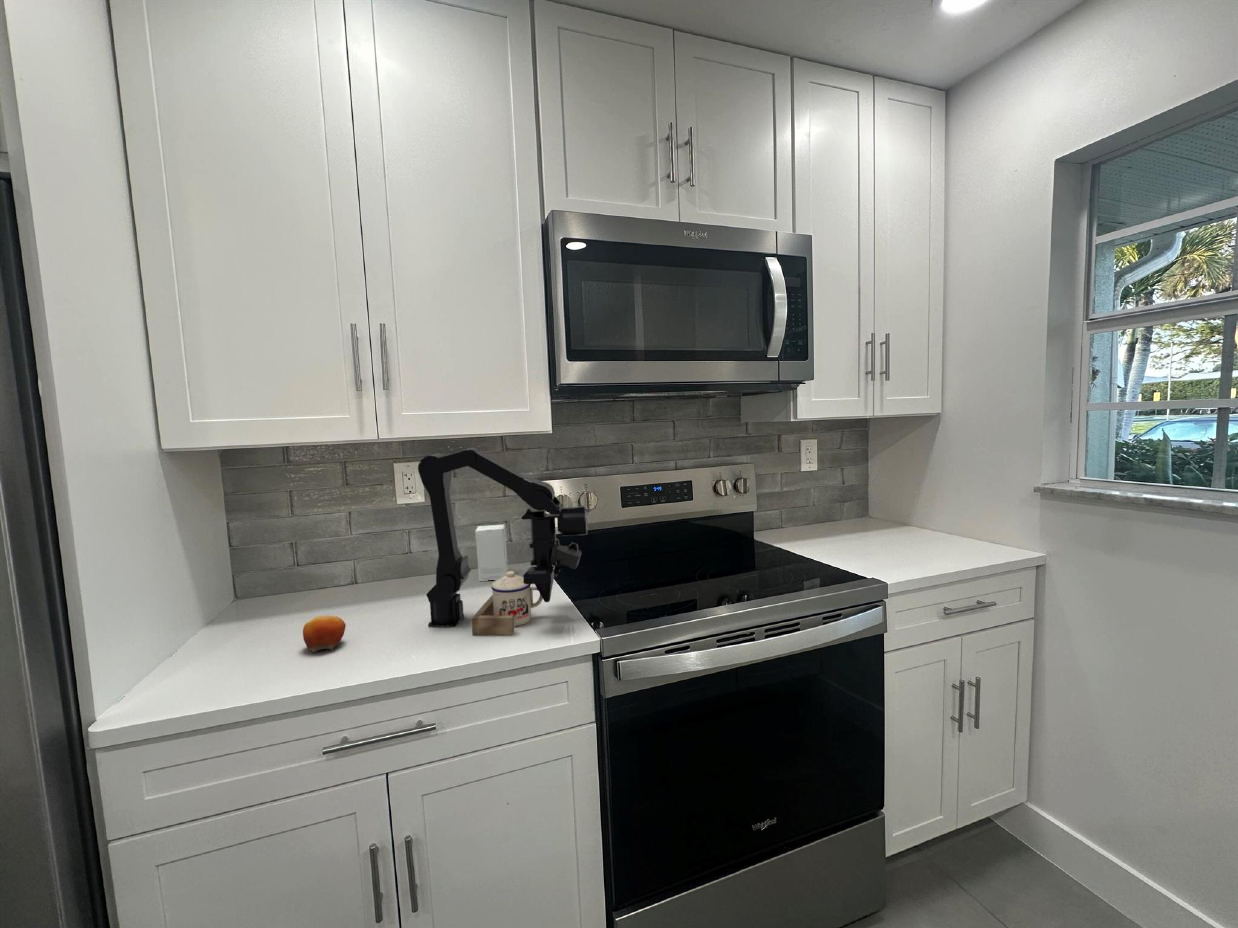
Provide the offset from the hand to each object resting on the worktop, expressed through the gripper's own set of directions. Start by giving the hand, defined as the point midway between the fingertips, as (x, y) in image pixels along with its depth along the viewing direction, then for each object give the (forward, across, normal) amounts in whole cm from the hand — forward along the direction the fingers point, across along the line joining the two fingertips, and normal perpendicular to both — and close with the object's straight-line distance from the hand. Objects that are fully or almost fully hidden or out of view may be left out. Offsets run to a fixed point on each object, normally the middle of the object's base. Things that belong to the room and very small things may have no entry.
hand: (547, 601), depth 128 cm
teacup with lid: (+4, 0, +7) cm, 8 cm away
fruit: (+4, -16, +45) cm, 48 cm away
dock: (+4, 0, +10) cm, 11 cm away
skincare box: (+4, +32, +23) cm, 40 cm away
